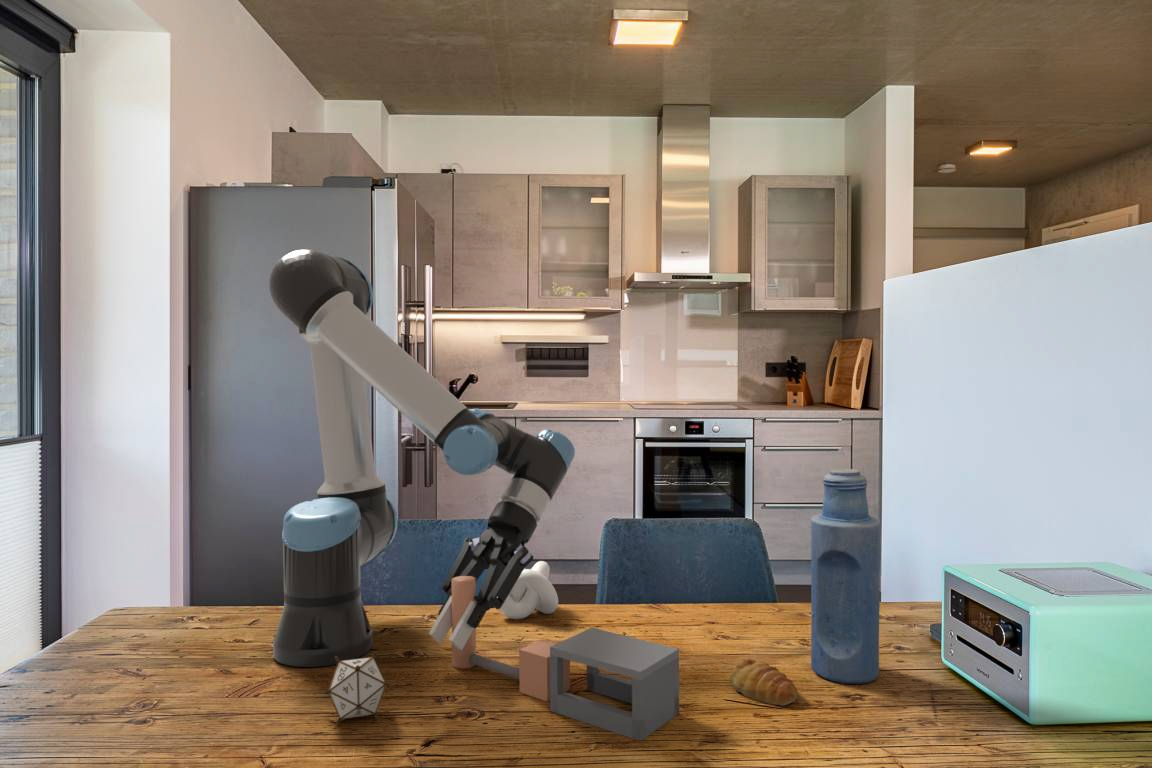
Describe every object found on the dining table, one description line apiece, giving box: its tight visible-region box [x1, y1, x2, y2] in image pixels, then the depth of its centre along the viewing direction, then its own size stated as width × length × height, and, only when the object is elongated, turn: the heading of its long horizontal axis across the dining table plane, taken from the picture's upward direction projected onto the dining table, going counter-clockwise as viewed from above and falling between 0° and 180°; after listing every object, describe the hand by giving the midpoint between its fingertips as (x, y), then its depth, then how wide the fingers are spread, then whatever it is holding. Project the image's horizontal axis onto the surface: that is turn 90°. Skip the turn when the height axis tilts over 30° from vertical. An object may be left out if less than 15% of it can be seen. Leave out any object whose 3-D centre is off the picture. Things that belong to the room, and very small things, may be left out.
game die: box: [322, 650, 393, 727], centre depth 102 cm, size 9×8×10 cm
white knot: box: [497, 560, 559, 620], centre depth 145 cm, size 11×12×9 cm
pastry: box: [729, 658, 799, 707], centre depth 109 cm, size 9×7×4 cm
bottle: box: [810, 468, 881, 685], centre depth 116 cm, size 10×10×30 cm
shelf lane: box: [549, 627, 680, 742], centre depth 104 cm, size 14×9×8 cm
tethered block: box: [451, 576, 571, 702], centre depth 115 cm, size 20×5×13 cm, turn 52°
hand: (445, 641), depth 117 cm, fingers closed on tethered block, 4 cm apart
